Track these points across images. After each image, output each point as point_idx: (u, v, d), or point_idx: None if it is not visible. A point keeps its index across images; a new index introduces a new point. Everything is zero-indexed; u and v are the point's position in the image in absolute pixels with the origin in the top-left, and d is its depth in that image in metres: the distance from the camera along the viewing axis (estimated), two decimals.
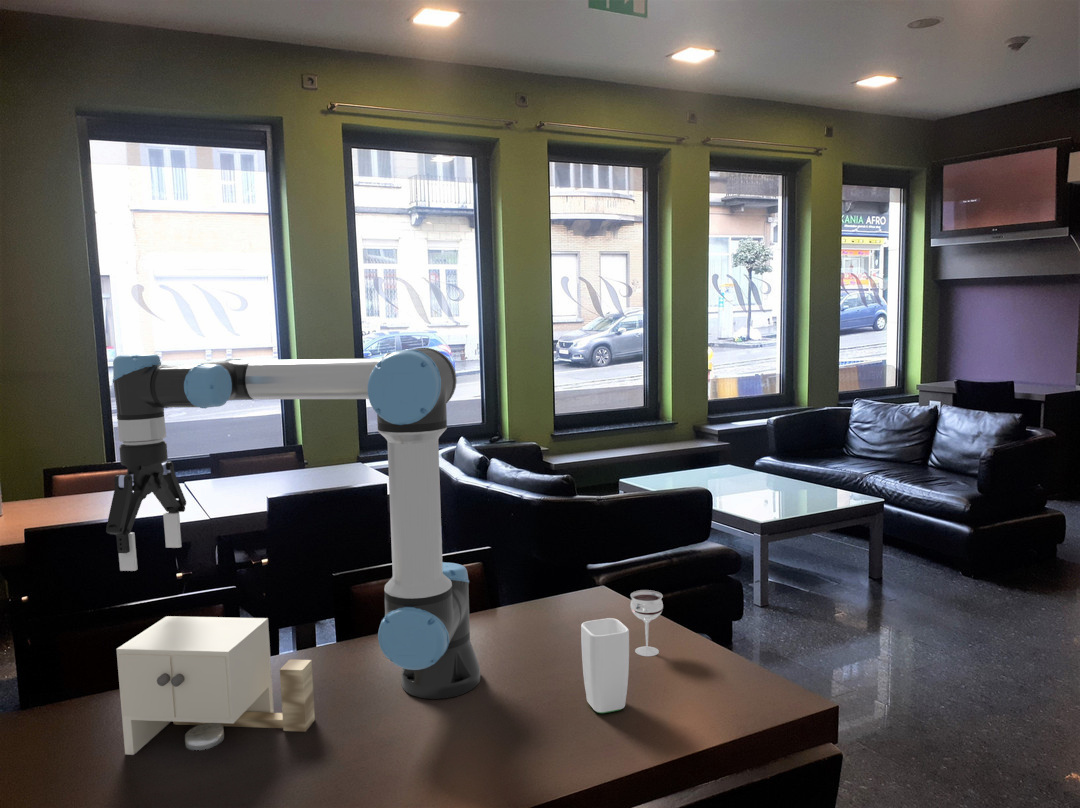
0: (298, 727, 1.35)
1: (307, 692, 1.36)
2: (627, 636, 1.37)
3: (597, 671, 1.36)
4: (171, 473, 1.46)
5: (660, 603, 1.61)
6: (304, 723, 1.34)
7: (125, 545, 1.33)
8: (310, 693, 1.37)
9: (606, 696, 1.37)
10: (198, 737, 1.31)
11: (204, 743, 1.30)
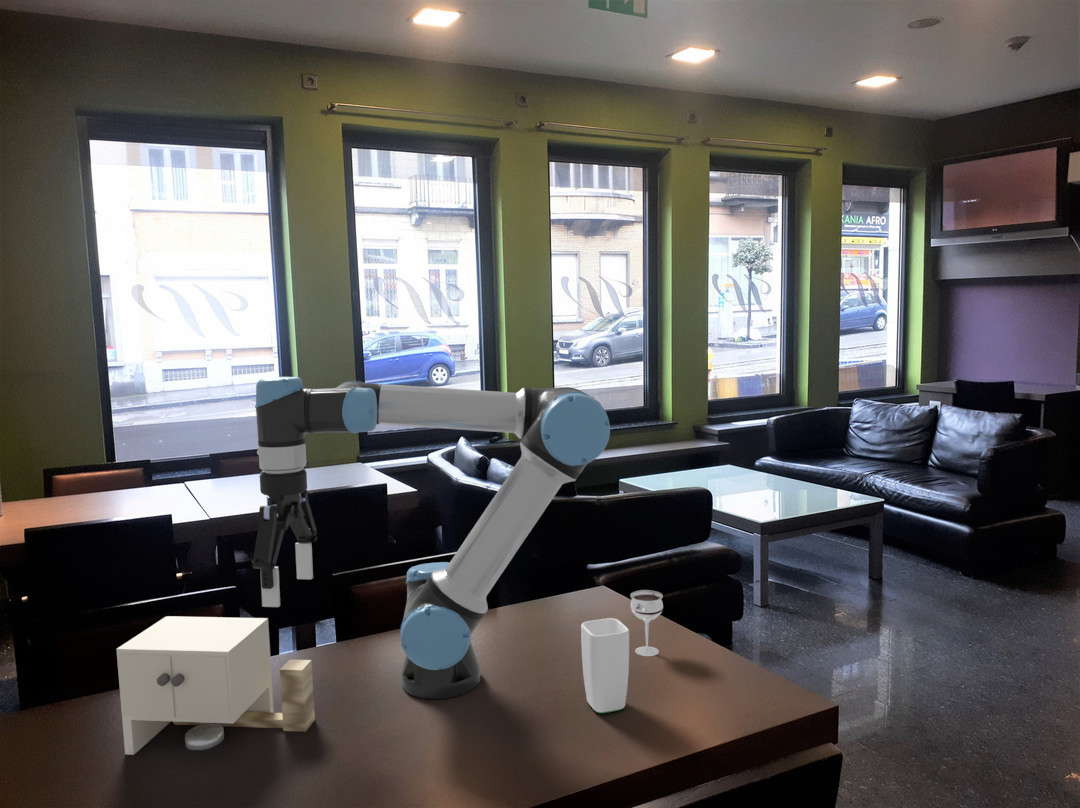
0: (298, 727, 1.35)
1: (307, 692, 1.36)
2: (627, 636, 1.37)
3: (597, 671, 1.36)
4: (305, 501, 1.38)
5: (660, 603, 1.61)
6: (304, 723, 1.34)
7: (270, 580, 1.26)
8: (310, 693, 1.37)
9: (606, 696, 1.37)
10: (198, 736, 1.31)
11: (204, 742, 1.30)
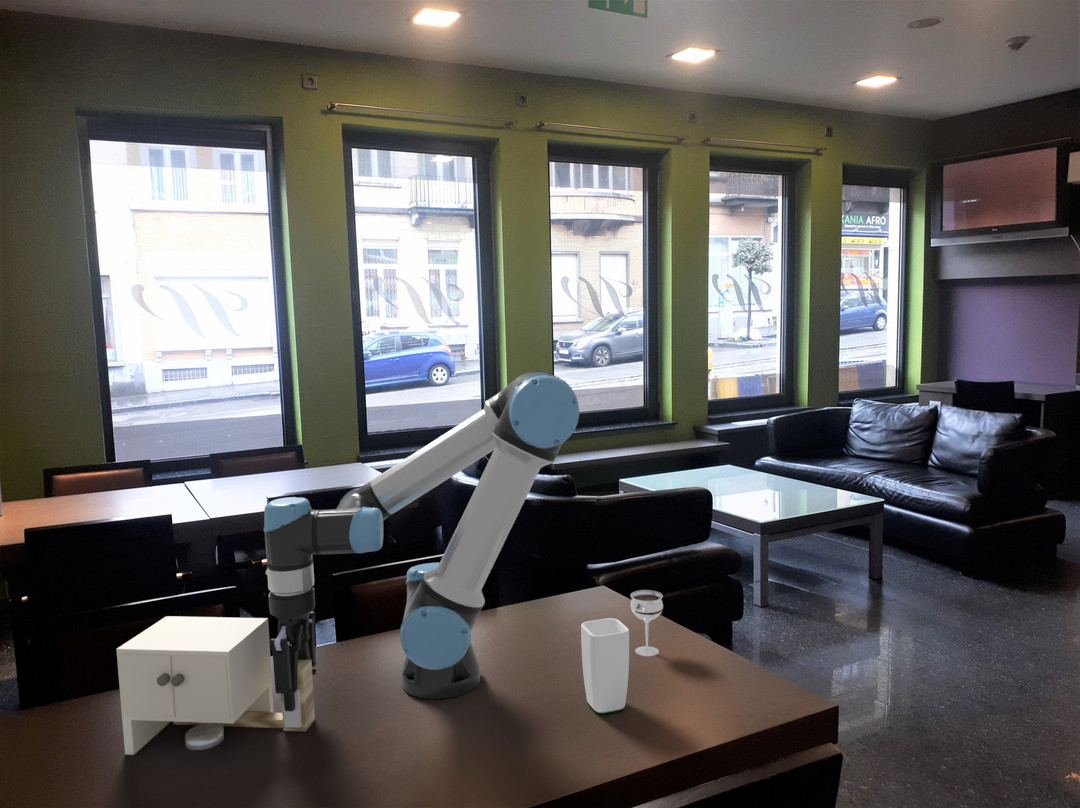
0: None
1: (307, 692, 1.36)
2: (627, 636, 1.37)
3: (597, 671, 1.36)
4: (312, 624, 1.40)
5: (660, 603, 1.61)
6: (304, 723, 1.34)
7: (292, 703, 1.32)
8: (310, 693, 1.37)
9: (606, 696, 1.37)
10: (198, 736, 1.31)
11: (204, 742, 1.30)
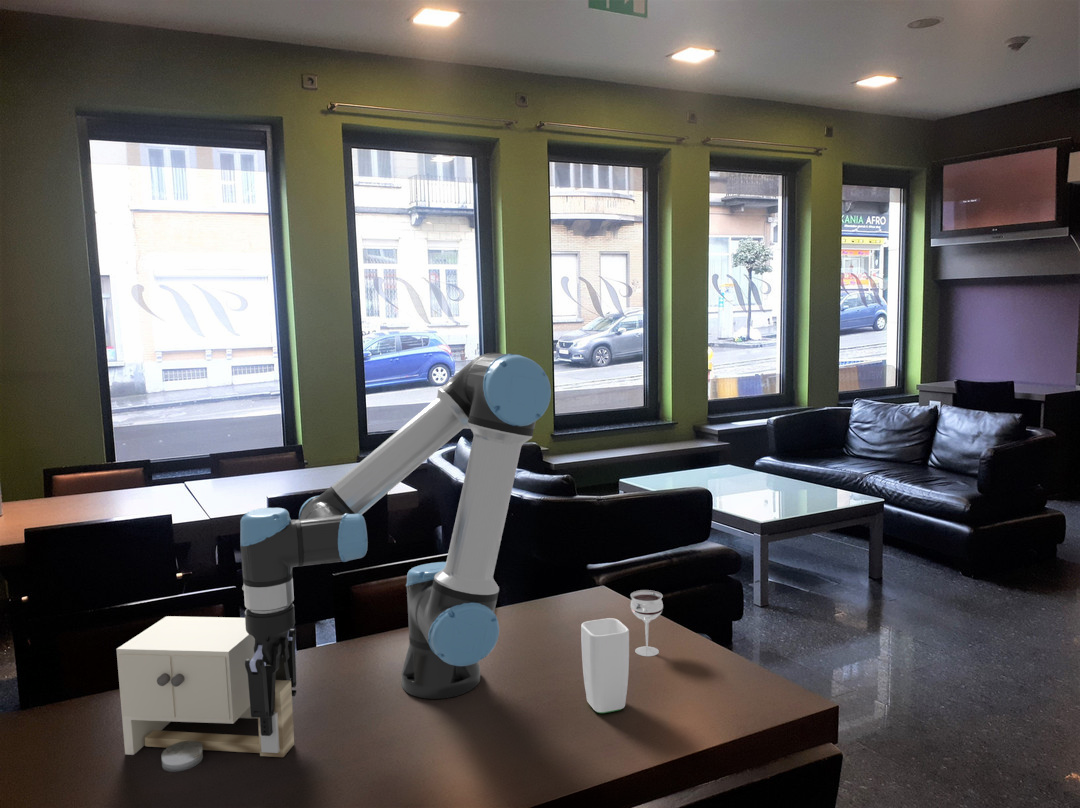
0: None
1: (285, 715, 1.27)
2: (627, 636, 1.37)
3: (597, 671, 1.36)
4: (292, 642, 1.32)
5: (660, 603, 1.61)
6: (281, 748, 1.26)
7: (269, 727, 1.24)
8: (289, 716, 1.29)
9: (606, 696, 1.37)
10: (174, 755, 1.25)
11: (180, 762, 1.23)
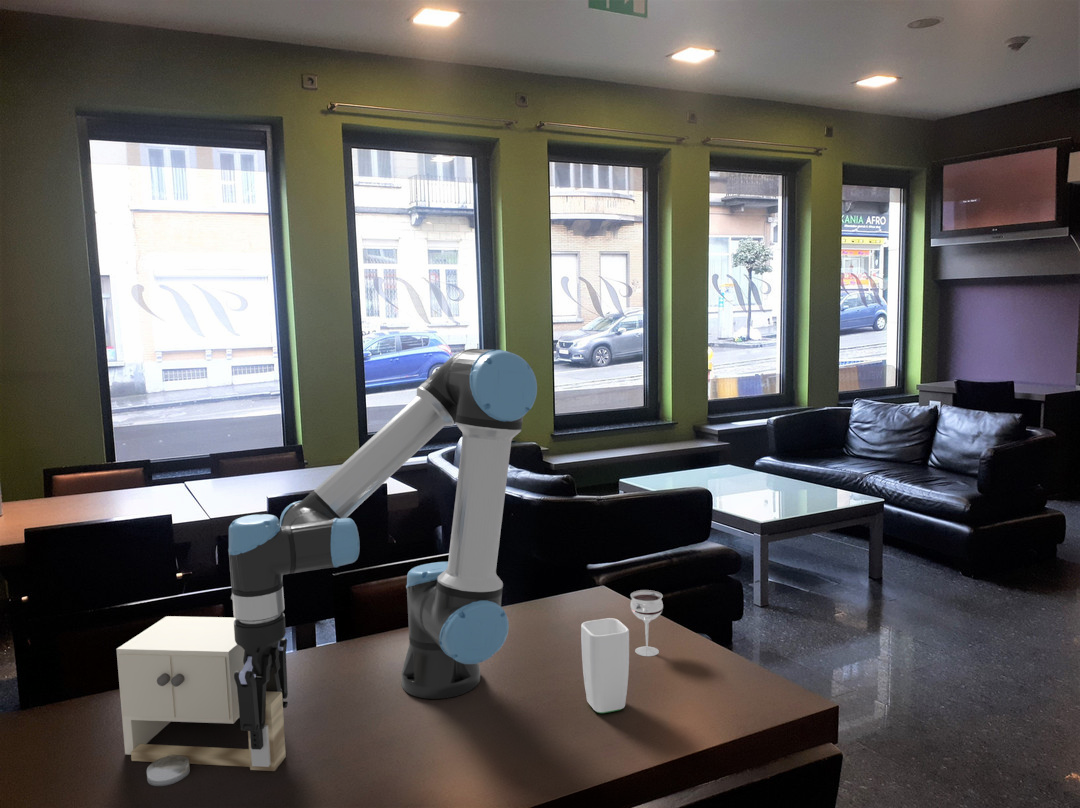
0: None
1: (276, 728, 1.24)
2: (627, 636, 1.37)
3: (597, 671, 1.36)
4: (283, 652, 1.28)
5: (660, 603, 1.61)
6: (273, 762, 1.23)
7: (259, 741, 1.21)
8: (280, 728, 1.25)
9: (606, 696, 1.37)
10: (160, 770, 1.21)
11: (164, 778, 1.20)
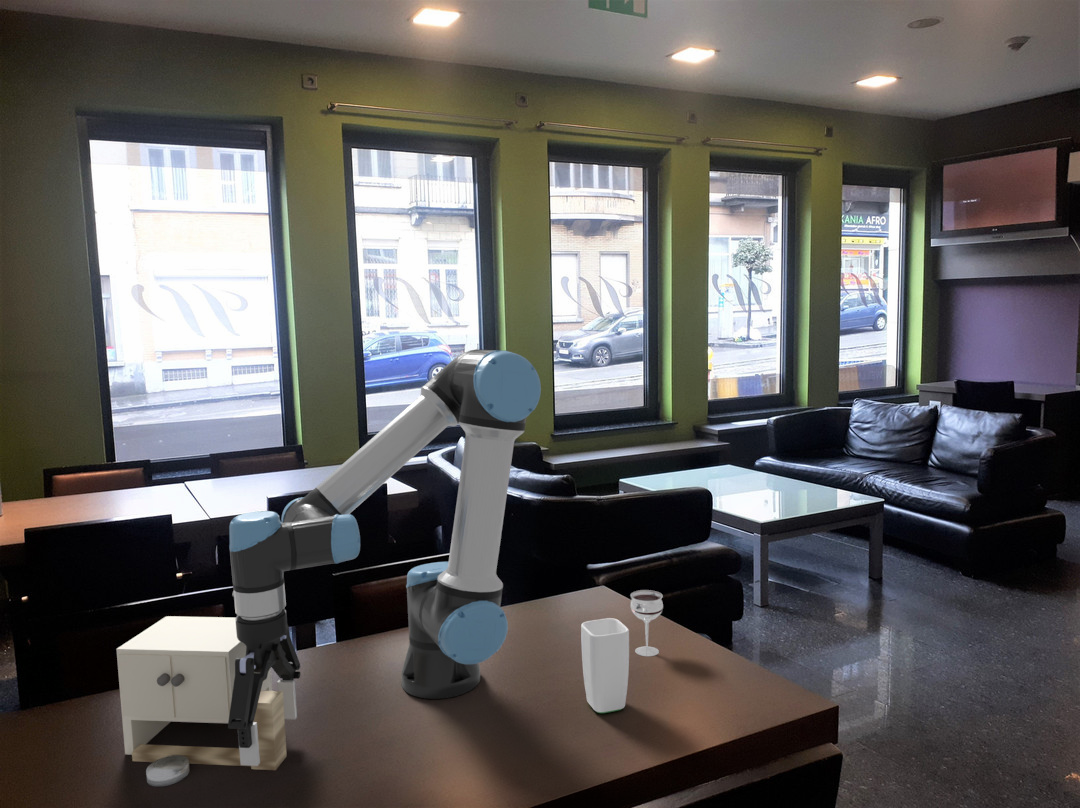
0: (267, 765, 1.23)
1: (277, 727, 1.24)
2: (627, 636, 1.37)
3: (597, 671, 1.36)
4: (287, 638, 1.29)
5: (660, 603, 1.61)
6: (274, 761, 1.23)
7: (248, 739, 1.17)
8: (281, 727, 1.25)
9: (606, 696, 1.37)
10: (159, 771, 1.21)
11: (164, 778, 1.20)
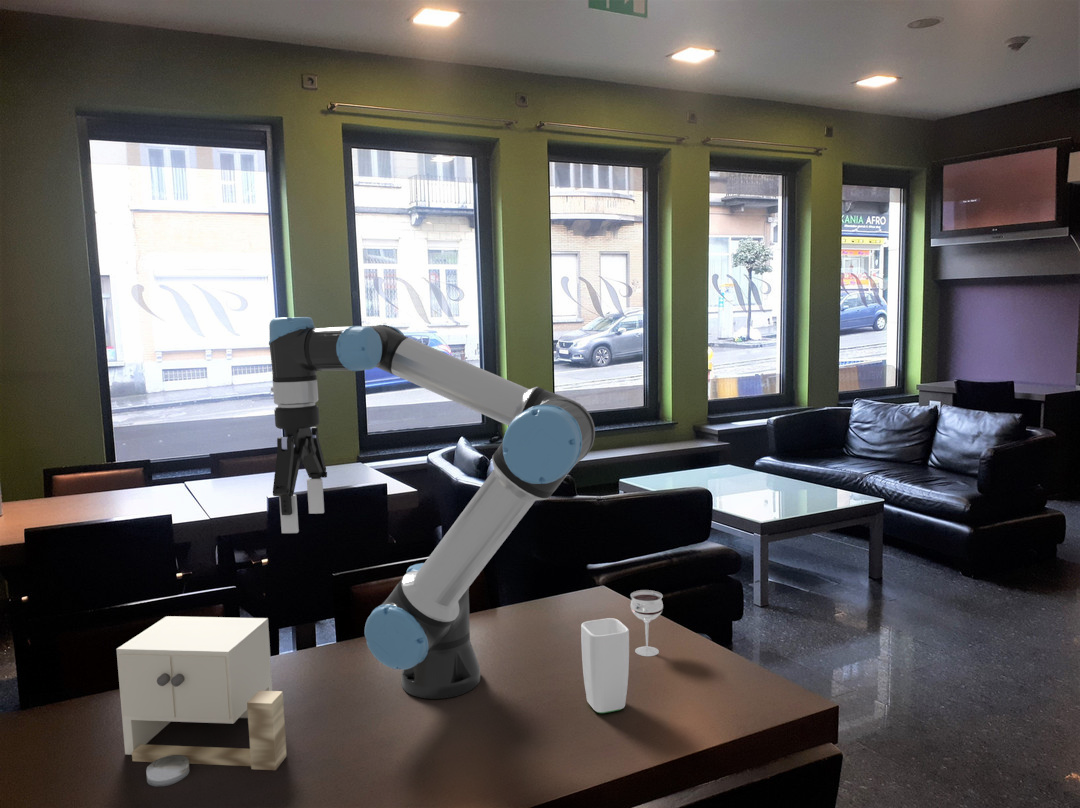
0: (267, 765, 1.23)
1: (277, 727, 1.24)
2: (627, 636, 1.37)
3: (597, 671, 1.36)
4: (316, 438, 1.45)
5: (660, 603, 1.61)
6: (274, 761, 1.23)
7: (289, 507, 1.32)
8: (281, 728, 1.25)
9: (606, 696, 1.37)
10: (160, 770, 1.21)
11: (165, 778, 1.20)
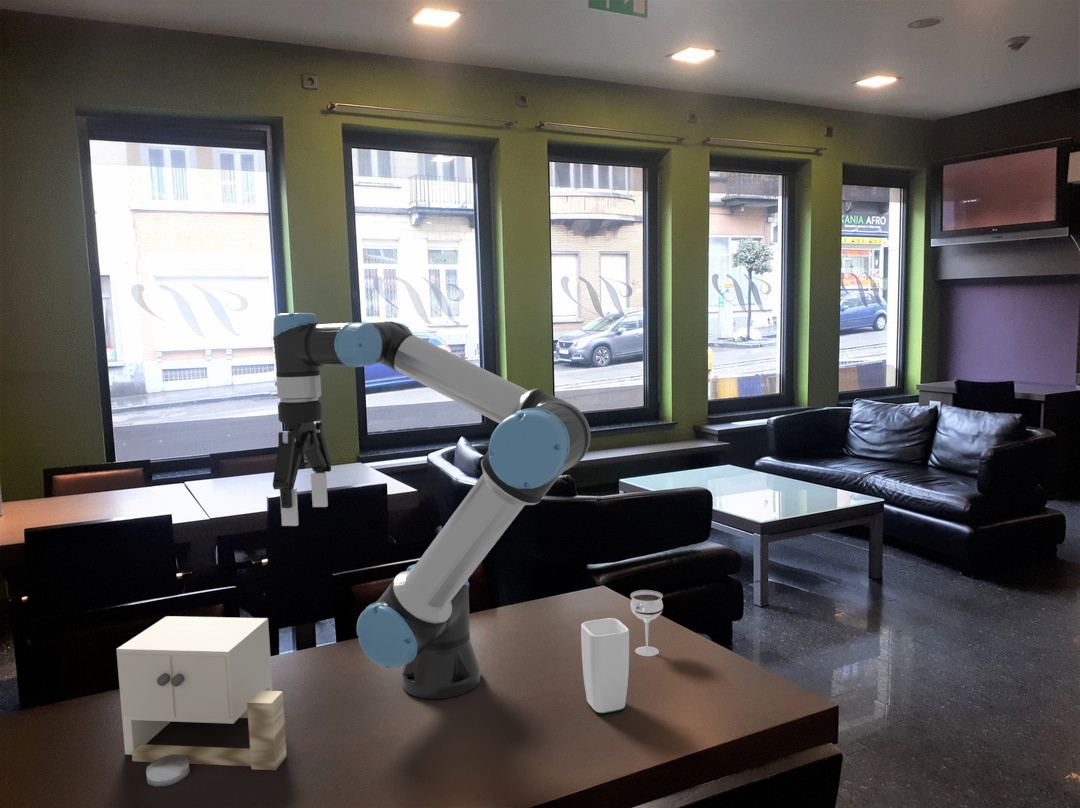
0: (267, 765, 1.23)
1: (277, 727, 1.24)
2: (627, 636, 1.37)
3: (597, 671, 1.36)
4: (320, 433, 1.47)
5: (660, 603, 1.61)
6: (274, 761, 1.23)
7: (289, 500, 1.34)
8: (281, 727, 1.25)
9: (606, 696, 1.37)
10: (160, 771, 1.21)
11: (166, 778, 1.20)
